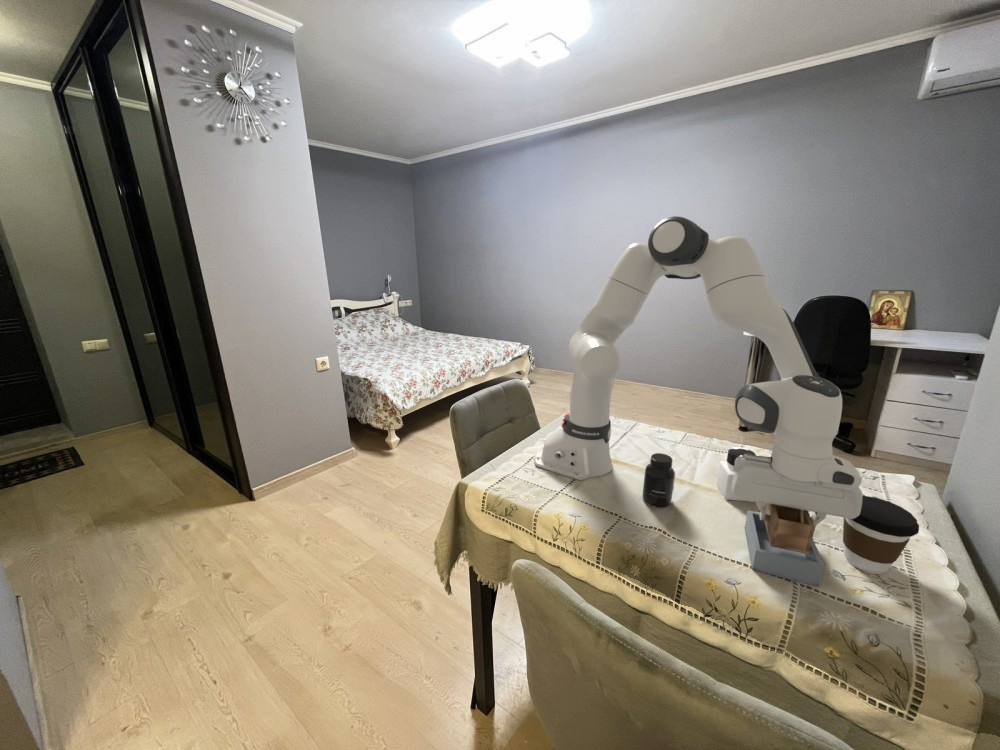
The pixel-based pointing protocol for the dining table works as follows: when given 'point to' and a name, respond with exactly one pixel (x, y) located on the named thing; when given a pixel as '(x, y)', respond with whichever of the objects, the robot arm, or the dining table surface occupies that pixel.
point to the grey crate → (780, 555)
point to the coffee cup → (877, 535)
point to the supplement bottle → (659, 481)
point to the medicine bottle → (730, 473)
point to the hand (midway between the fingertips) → (785, 523)
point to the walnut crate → (789, 528)
